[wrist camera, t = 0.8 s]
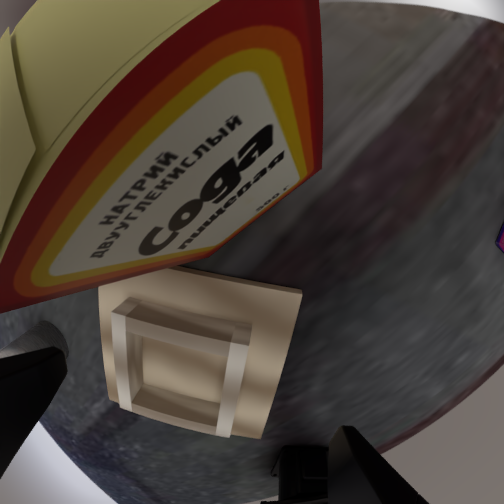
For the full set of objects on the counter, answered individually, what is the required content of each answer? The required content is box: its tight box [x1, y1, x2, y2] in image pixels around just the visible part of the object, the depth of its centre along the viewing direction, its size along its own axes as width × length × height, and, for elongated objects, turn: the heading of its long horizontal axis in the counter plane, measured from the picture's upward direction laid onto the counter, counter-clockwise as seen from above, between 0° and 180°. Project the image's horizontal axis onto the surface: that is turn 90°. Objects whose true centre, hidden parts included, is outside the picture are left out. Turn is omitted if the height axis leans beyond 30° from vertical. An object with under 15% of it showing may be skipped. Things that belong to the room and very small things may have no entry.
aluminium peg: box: [0, 321, 69, 359], centre depth 20 cm, size 5×5×10 cm
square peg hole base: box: [99, 266, 303, 439], centre depth 21 cm, size 16×16×4 cm
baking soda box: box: [0, 0, 323, 314], centre depth 11 cm, size 10×6×16 cm
